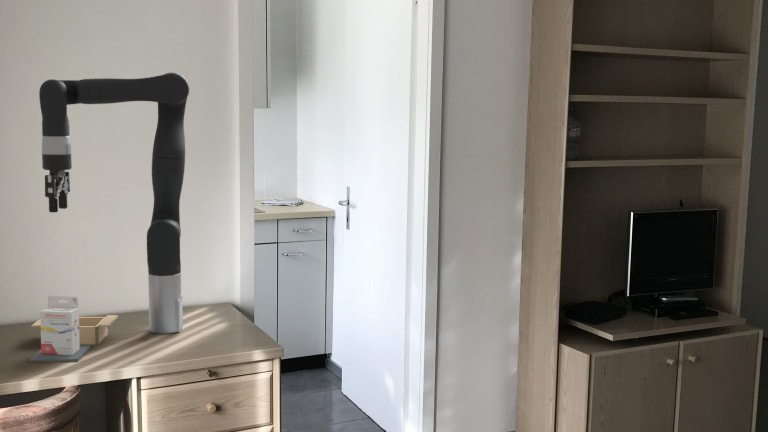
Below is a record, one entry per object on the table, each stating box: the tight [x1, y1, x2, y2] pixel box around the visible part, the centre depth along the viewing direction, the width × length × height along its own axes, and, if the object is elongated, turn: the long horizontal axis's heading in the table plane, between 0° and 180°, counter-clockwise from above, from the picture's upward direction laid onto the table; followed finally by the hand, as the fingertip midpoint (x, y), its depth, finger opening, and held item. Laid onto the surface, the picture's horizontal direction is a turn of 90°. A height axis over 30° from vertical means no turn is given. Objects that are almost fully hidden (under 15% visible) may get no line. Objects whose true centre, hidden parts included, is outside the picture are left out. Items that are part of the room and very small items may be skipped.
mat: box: [29, 345, 92, 363], centre depth 208 cm, size 12×12×1 cm
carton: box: [31, 314, 119, 346], centre depth 222 cm, size 21×11×6 cm, turn 96°
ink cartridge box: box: [39, 295, 80, 355], centre depth 207 cm, size 9×5×15 cm, turn 88°
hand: (58, 210), depth 221 cm, fingers open, 8 cm apart
